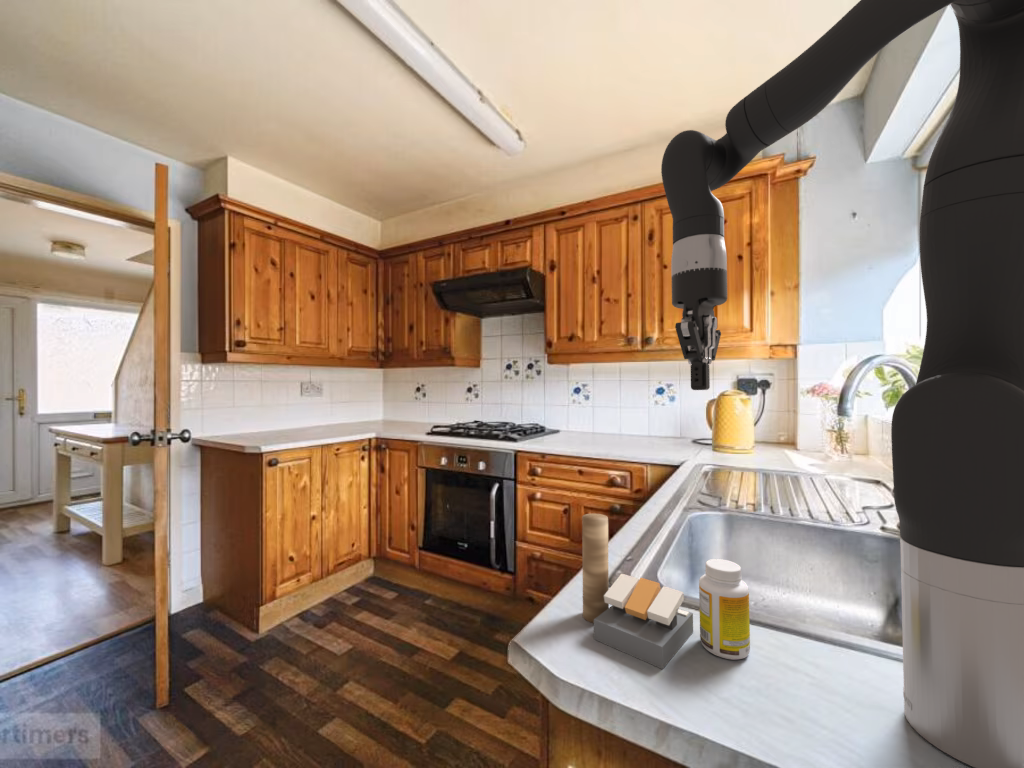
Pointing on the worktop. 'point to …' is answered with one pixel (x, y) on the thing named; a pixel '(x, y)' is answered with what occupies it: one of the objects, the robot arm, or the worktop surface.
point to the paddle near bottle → (665, 605)
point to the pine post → (594, 565)
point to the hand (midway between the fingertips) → (700, 389)
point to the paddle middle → (642, 598)
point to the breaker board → (643, 634)
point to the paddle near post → (621, 591)
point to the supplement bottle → (724, 610)
